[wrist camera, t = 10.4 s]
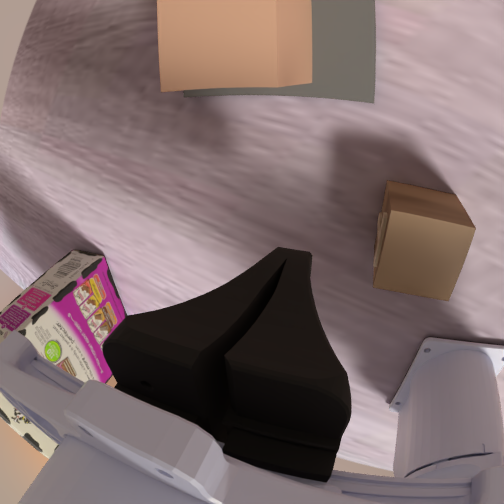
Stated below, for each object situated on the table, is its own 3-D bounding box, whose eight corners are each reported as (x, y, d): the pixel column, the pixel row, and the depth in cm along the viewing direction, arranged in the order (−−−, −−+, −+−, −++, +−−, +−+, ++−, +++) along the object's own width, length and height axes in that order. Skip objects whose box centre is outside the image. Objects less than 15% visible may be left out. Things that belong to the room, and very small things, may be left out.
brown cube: (437, 257, 16) (448, 301, 13) (371, 245, 18) (370, 286, 14) (455, 194, 14) (475, 228, 11) (384, 179, 15) (387, 209, 12)
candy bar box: (71, 247, 27) (-51, 357, 14) (106, 253, 26) (-30, 384, 13) (107, 332, 33) (20, 436, 20) (140, 343, 31) (51, 463, 18)
